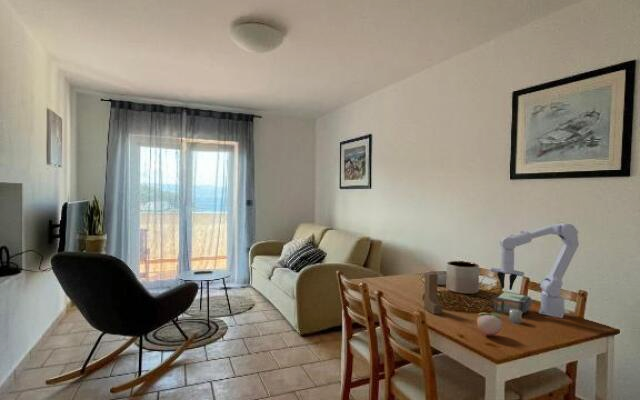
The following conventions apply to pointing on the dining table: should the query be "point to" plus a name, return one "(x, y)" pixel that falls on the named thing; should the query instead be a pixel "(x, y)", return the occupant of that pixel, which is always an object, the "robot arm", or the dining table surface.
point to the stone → (515, 316)
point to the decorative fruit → (489, 323)
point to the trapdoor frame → (506, 305)
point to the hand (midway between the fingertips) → (506, 288)
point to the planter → (462, 277)
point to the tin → (441, 277)
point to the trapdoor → (524, 299)
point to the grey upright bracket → (431, 294)
